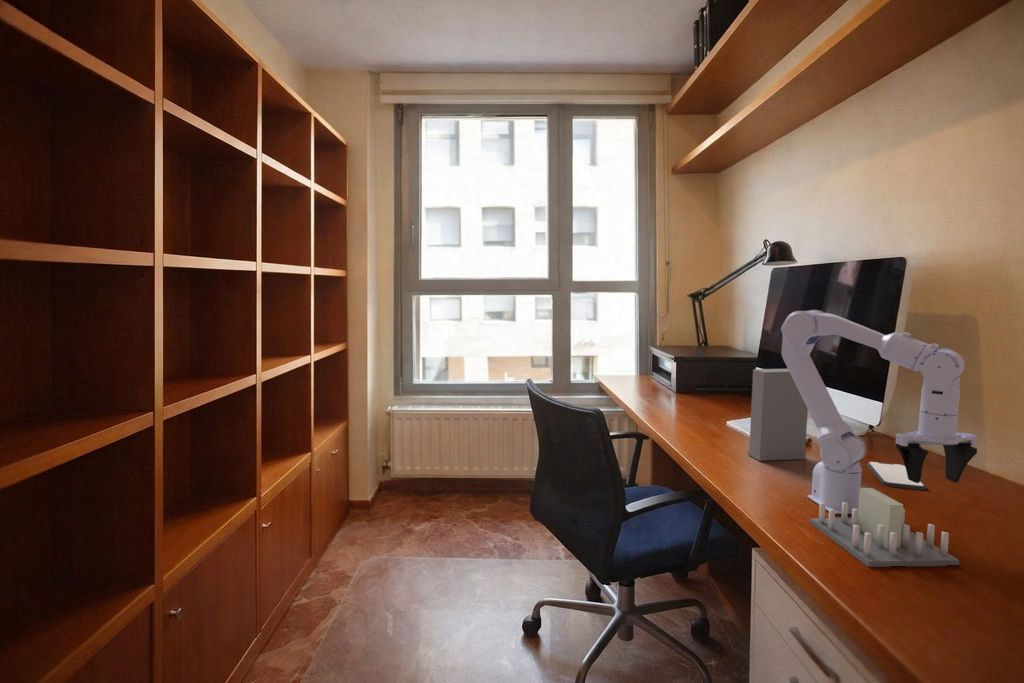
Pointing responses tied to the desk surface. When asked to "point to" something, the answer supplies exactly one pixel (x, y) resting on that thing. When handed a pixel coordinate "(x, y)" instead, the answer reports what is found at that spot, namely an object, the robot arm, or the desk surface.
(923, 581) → the desk surface
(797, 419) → the tall grey upright box
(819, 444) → the robot arm
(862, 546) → the dish rack
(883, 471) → the phone case
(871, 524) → the pale rectangular block
